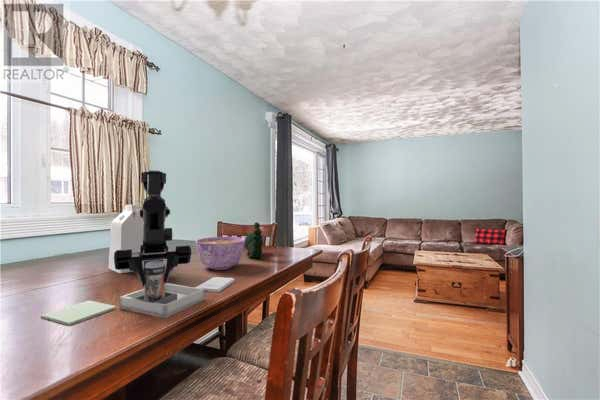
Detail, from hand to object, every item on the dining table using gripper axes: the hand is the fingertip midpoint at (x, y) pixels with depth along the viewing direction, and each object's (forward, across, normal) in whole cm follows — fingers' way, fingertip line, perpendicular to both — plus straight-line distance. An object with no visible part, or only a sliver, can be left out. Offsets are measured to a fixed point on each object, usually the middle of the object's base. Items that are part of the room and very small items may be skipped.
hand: (154, 284), depth 76 cm
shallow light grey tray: (+2, +2, +7) cm, 8 cm away
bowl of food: (-22, +25, +32) cm, 46 cm away
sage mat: (+1, -17, +9) cm, 19 cm away
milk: (-33, -8, +42) cm, 54 cm away
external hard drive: (-5, +18, +15) cm, 24 cm away
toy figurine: (-33, +45, +43) cm, 70 cm away
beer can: (+4, 0, +6) cm, 7 cm away
